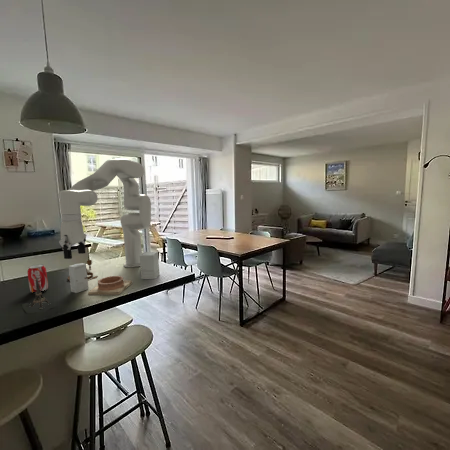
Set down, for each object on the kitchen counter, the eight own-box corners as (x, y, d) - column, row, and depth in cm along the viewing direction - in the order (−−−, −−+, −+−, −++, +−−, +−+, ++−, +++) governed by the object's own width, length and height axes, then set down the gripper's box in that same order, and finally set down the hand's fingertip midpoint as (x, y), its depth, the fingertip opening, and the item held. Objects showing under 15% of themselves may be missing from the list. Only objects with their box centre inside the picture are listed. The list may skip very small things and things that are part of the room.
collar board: (104, 283, 130) (104, 274, 130) (132, 283, 129) (131, 274, 129) (88, 294, 116) (87, 285, 116) (118, 294, 115) (118, 285, 115)
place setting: (58, 280, 137) (56, 269, 136) (89, 269, 156) (88, 259, 155) (83, 284, 131) (82, 272, 130) (113, 271, 150) (112, 261, 149)
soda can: (28, 295, 118) (25, 269, 116) (31, 290, 124) (28, 265, 122) (47, 291, 121) (44, 266, 119) (49, 287, 127) (46, 262, 125)
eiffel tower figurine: (20, 305, 109) (16, 274, 107) (49, 297, 116) (45, 268, 114) (26, 317, 98) (21, 283, 96) (57, 308, 105) (53, 276, 103)
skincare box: (76, 293, 118) (73, 267, 116) (70, 291, 120) (67, 266, 119) (89, 288, 124) (86, 263, 122) (83, 287, 126) (80, 262, 124)
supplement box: (160, 274, 141) (158, 251, 139) (155, 279, 134) (153, 255, 132) (146, 274, 142) (144, 251, 140) (140, 279, 134) (139, 255, 133)
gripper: (76, 216, 126) (79, 251, 128) (49, 220, 109) (53, 261, 111) (91, 216, 125) (94, 251, 127) (66, 220, 108) (70, 260, 110)
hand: (75, 255), depth 119 cm, fingers open, 9 cm apart
